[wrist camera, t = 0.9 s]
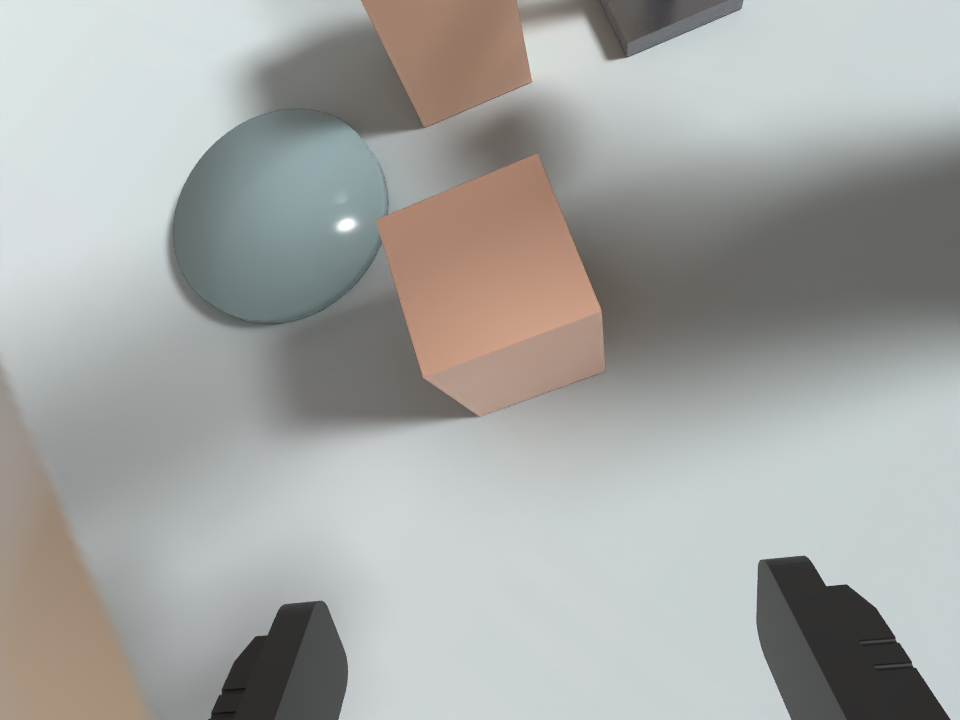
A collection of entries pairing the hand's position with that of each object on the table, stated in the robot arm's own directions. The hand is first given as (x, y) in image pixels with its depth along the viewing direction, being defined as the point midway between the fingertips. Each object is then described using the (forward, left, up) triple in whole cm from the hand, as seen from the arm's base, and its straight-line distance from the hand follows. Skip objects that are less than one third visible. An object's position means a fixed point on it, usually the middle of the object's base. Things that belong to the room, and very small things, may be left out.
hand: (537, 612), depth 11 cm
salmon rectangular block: (-1, -10, -16) cm, 19 cm away
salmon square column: (-3, -26, -16) cm, 31 cm away
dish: (+9, -21, -16) cm, 28 cm away
